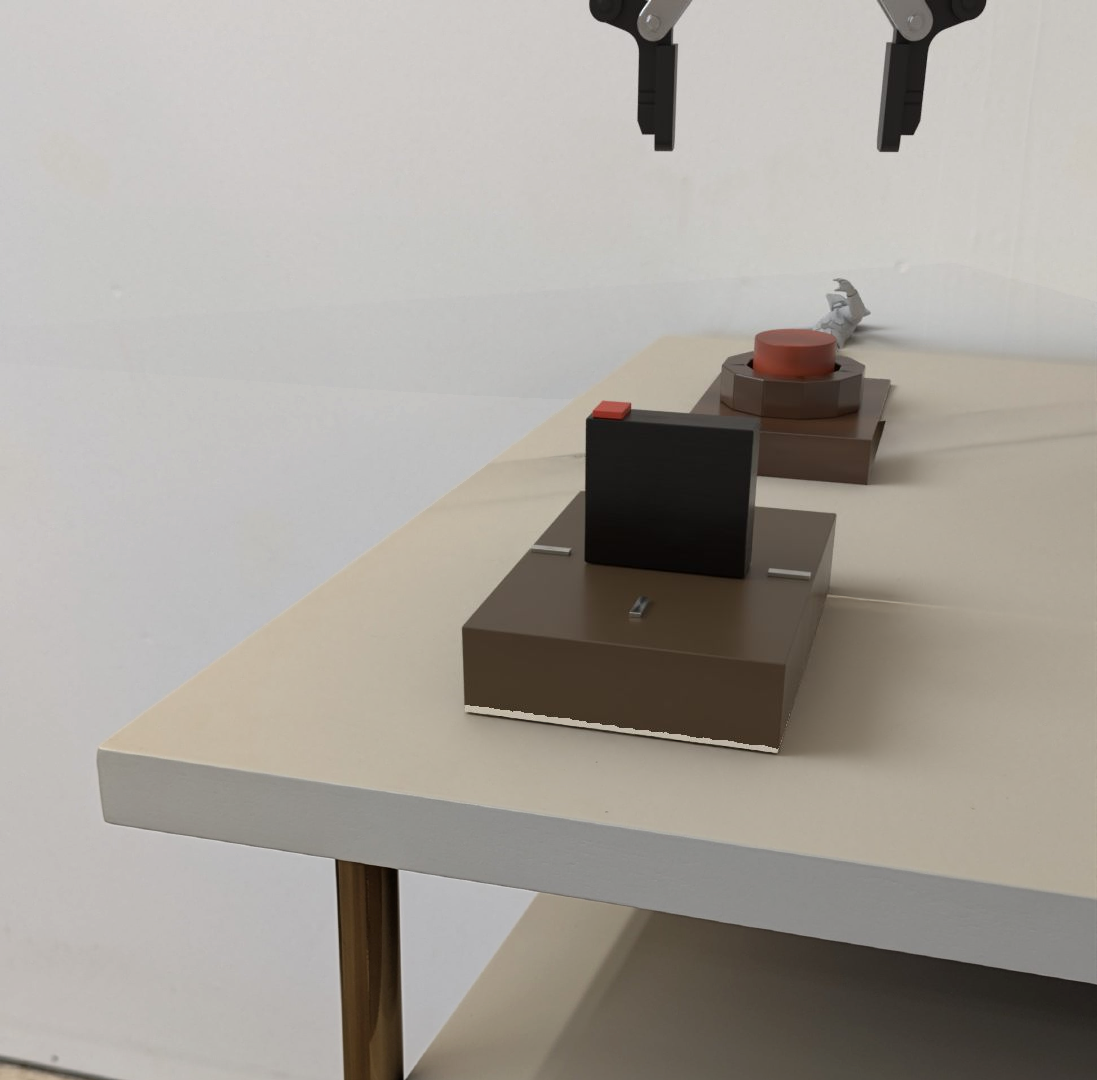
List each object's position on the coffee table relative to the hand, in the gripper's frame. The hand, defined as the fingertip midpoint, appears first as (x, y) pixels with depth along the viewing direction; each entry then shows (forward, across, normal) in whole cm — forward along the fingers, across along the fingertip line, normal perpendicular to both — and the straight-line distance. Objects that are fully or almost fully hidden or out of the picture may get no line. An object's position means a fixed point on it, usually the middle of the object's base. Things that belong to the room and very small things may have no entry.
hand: (774, 150), depth 54 cm
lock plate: (+15, +3, +14) cm, 21 cm away
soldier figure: (+15, -4, -26) cm, 30 cm away
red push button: (+11, -2, -12) cm, 17 cm away
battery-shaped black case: (+12, +3, +14) cm, 18 cm away
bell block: (+15, -2, -12) cm, 19 cm away
